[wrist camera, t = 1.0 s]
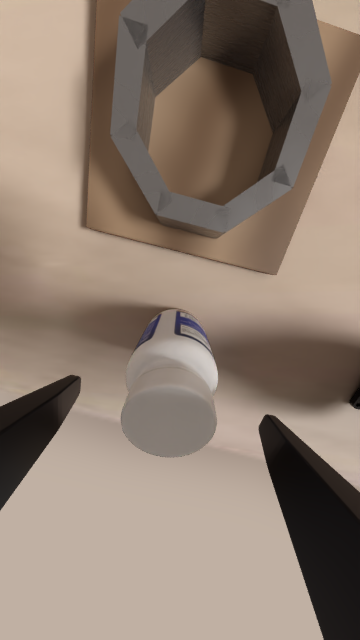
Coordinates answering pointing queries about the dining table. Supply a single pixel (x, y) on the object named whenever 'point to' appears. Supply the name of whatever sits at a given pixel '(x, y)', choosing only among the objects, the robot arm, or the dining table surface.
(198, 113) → the tan board
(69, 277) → the dining table surface
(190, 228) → the ring collar
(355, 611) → the robot arm
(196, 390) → the pill bottle
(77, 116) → the dining table surface
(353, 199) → the dining table surface
